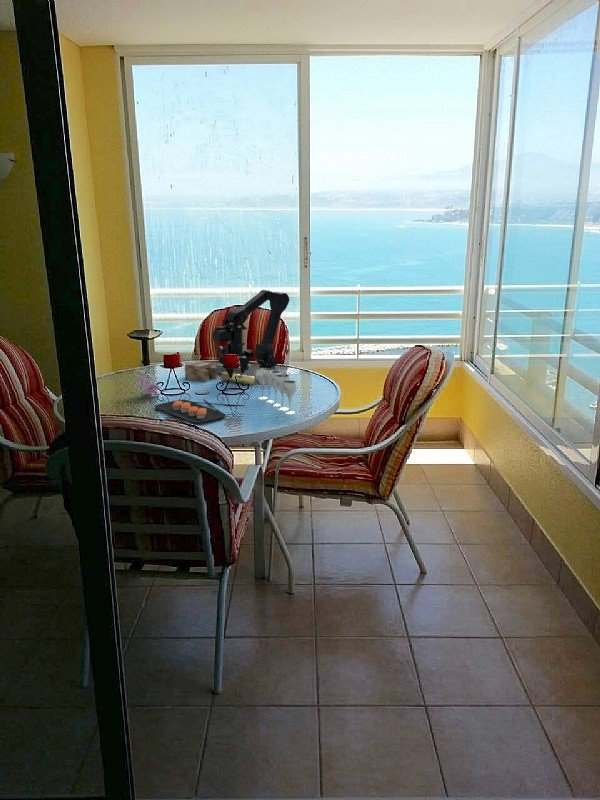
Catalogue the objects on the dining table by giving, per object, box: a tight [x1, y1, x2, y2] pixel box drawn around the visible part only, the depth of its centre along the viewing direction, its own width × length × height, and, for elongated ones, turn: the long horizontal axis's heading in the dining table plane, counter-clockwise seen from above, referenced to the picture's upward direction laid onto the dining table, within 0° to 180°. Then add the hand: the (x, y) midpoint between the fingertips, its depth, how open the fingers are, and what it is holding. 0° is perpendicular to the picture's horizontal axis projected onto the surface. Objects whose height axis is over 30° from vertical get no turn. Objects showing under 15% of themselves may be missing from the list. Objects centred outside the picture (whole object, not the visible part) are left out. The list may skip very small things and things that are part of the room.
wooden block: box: [184, 360, 219, 383], centre depth 284 cm, size 12×8×6 cm, turn 62°
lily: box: [134, 373, 162, 401], centre depth 253 cm, size 12×12×10 cm
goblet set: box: [254, 367, 297, 415], centre depth 245 cm, size 28×6×13 cm, turn 30°
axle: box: [220, 372, 257, 386], centre depth 278 cm, size 16×4×4 cm
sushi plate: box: [154, 398, 245, 424], centre depth 239 cm, size 29×30×4 cm
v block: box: [215, 363, 254, 376], centre depth 295 cm, size 14×10×4 cm
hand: (236, 375), depth 276 cm, fingers open, 9 cm apart
